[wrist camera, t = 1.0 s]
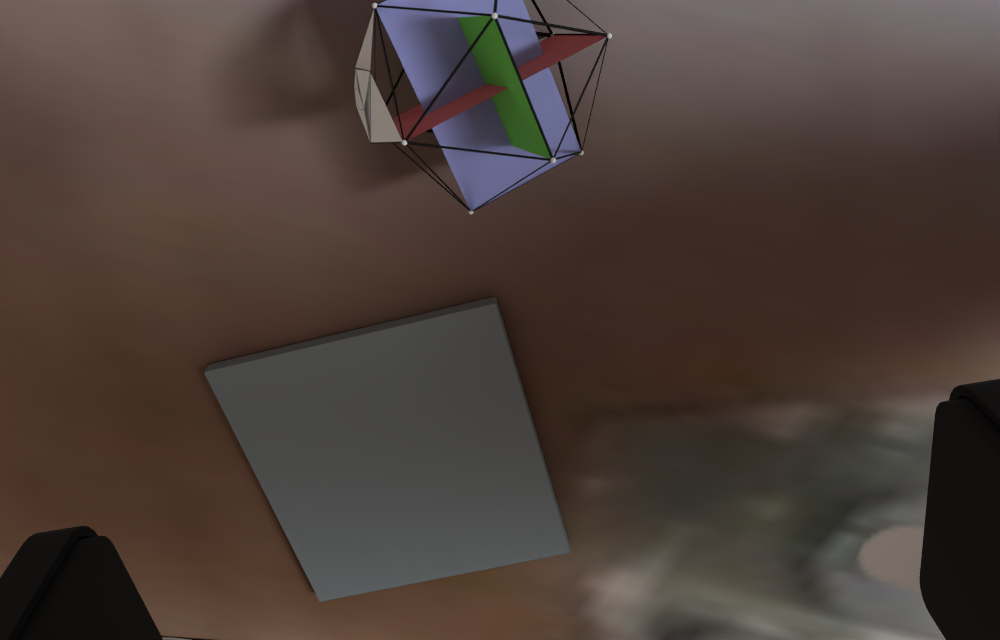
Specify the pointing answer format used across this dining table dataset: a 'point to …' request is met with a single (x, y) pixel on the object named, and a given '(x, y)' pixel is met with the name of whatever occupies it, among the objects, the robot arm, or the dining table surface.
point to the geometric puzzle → (476, 90)
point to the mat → (396, 450)
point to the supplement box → (173, 638)
